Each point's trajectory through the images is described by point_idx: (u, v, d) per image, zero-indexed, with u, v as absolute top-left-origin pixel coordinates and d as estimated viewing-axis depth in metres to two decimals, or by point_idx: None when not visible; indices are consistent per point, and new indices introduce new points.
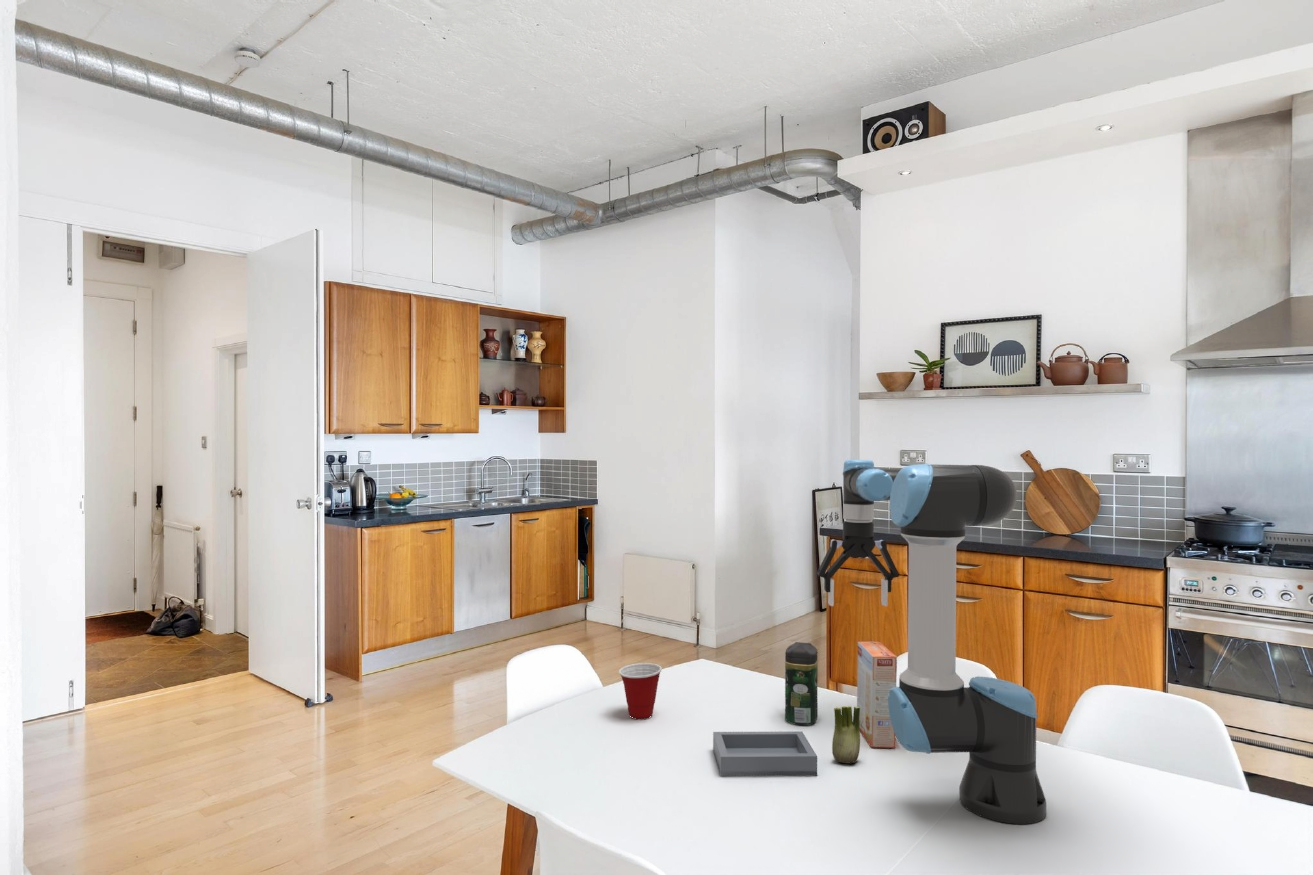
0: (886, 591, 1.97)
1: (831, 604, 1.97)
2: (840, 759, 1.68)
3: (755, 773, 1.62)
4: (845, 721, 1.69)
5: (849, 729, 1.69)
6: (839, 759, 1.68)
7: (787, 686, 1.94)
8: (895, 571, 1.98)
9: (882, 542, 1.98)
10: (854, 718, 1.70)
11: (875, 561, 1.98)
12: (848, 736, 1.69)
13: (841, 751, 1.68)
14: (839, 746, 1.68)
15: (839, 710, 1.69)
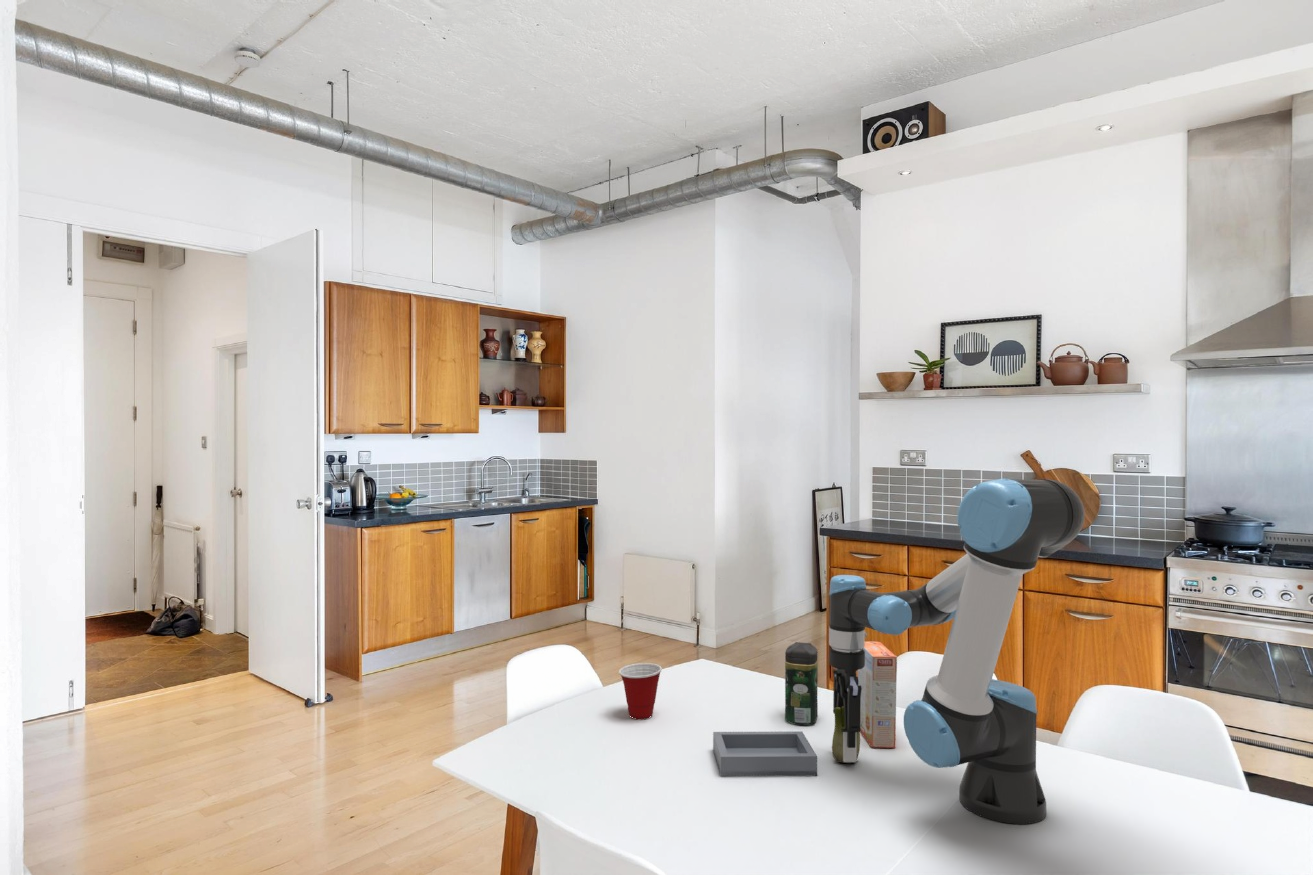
0: (843, 744, 1.67)
1: None
2: (840, 759, 1.68)
3: (755, 773, 1.62)
4: None
5: None
6: (839, 759, 1.68)
7: (787, 686, 1.94)
8: (848, 724, 1.64)
9: (849, 686, 1.64)
10: None
11: (844, 702, 1.68)
12: None
13: (841, 750, 1.68)
14: (839, 746, 1.68)
15: (839, 710, 1.69)
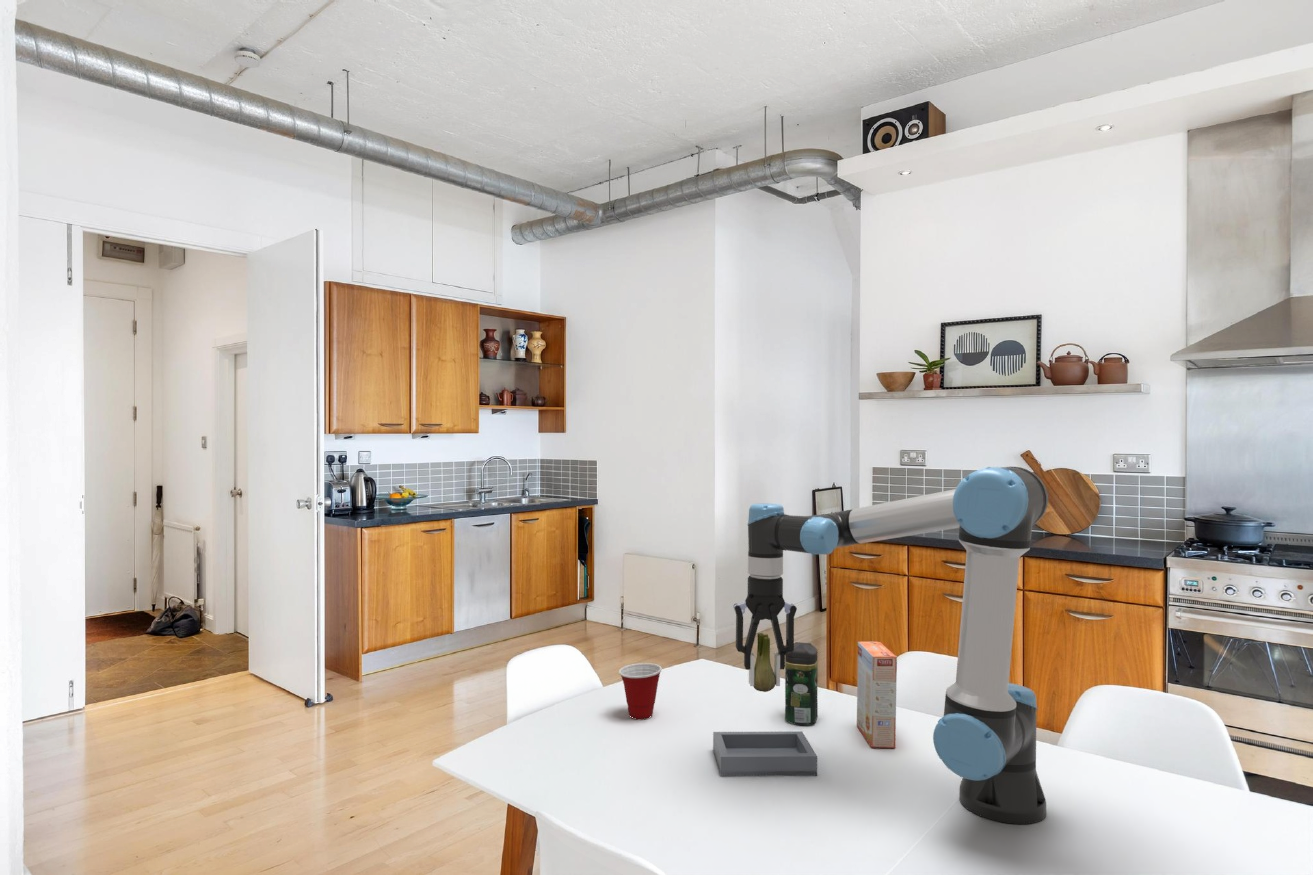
0: (778, 668, 1.68)
1: (751, 684, 1.68)
2: (773, 686, 1.68)
3: (755, 773, 1.62)
4: None
5: None
6: (772, 687, 1.67)
7: (787, 686, 1.94)
8: (790, 644, 1.68)
9: (792, 607, 1.68)
10: None
11: (775, 627, 1.68)
12: None
13: (773, 677, 1.68)
14: (772, 674, 1.67)
15: None
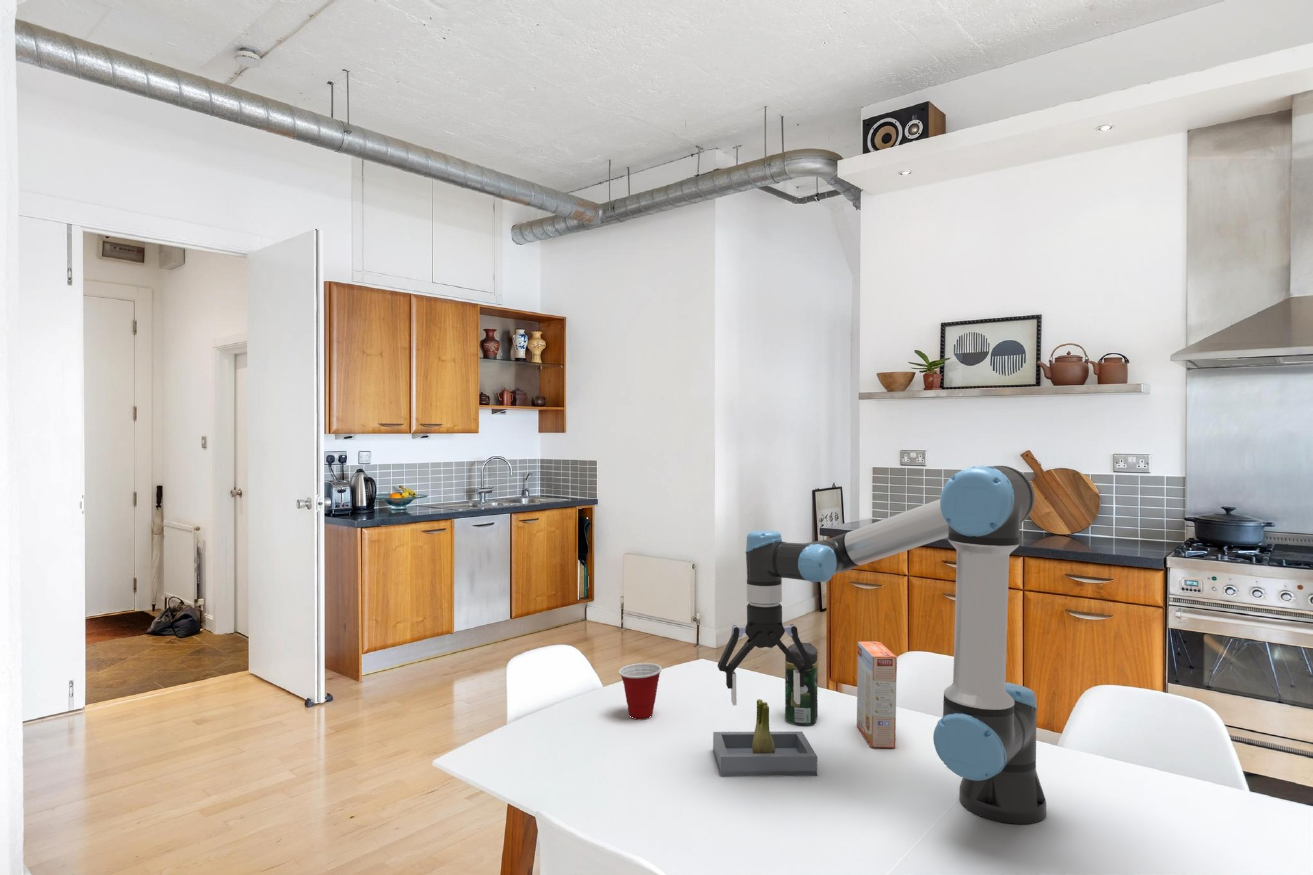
0: (798, 686, 1.68)
1: (733, 703, 1.67)
2: None
3: (755, 773, 1.62)
4: None
5: None
6: None
7: (787, 686, 1.94)
8: (808, 662, 1.68)
9: (792, 628, 1.68)
10: None
11: (784, 651, 1.68)
12: None
13: (772, 746, 1.68)
14: (771, 743, 1.67)
15: None
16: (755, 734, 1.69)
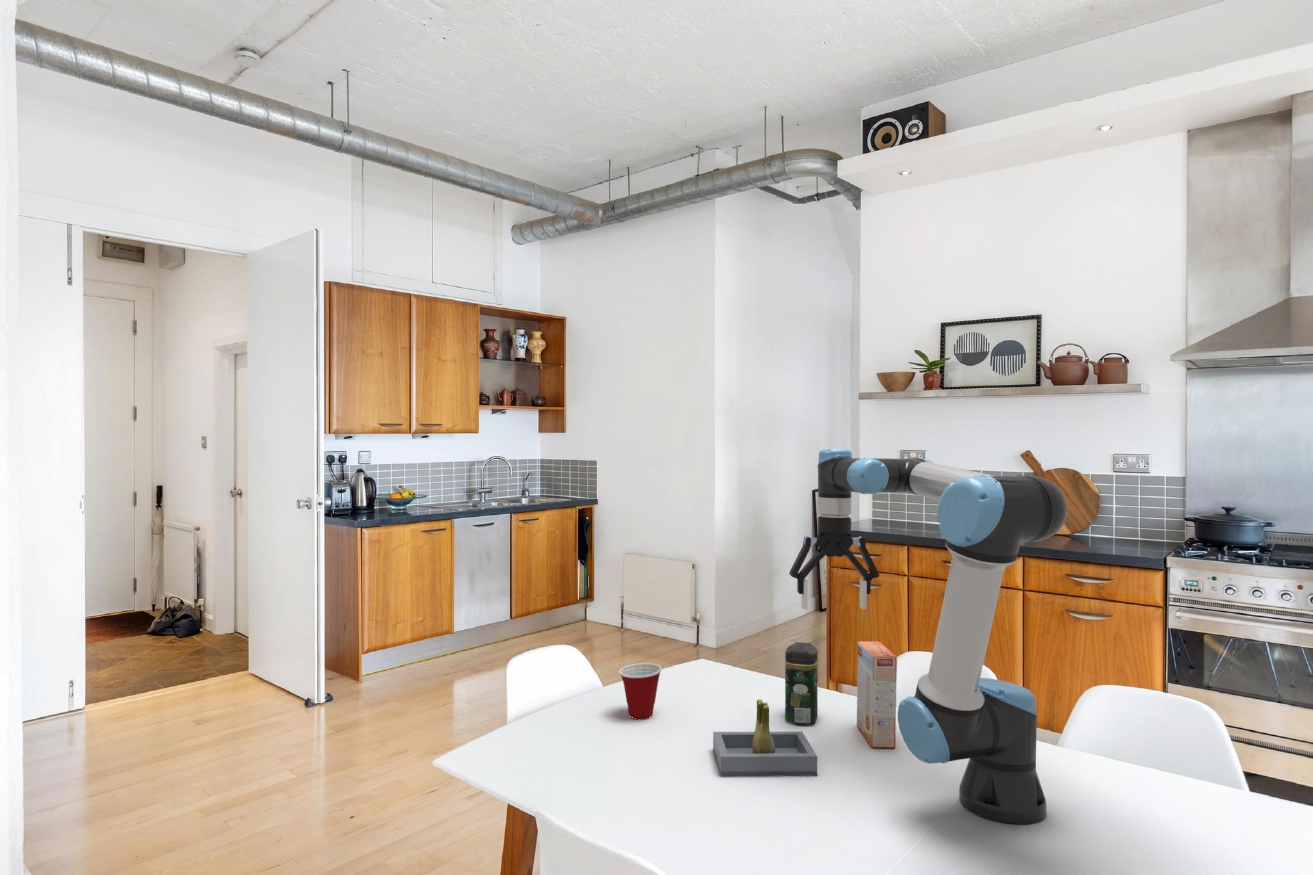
0: (865, 593, 1.80)
1: (804, 607, 1.79)
2: None
3: (755, 773, 1.62)
4: None
5: None
6: None
7: (787, 686, 1.94)
8: (874, 571, 1.80)
9: (860, 539, 1.80)
10: None
11: (853, 560, 1.80)
12: None
13: (772, 746, 1.68)
14: (771, 743, 1.67)
15: None
16: (755, 734, 1.69)
